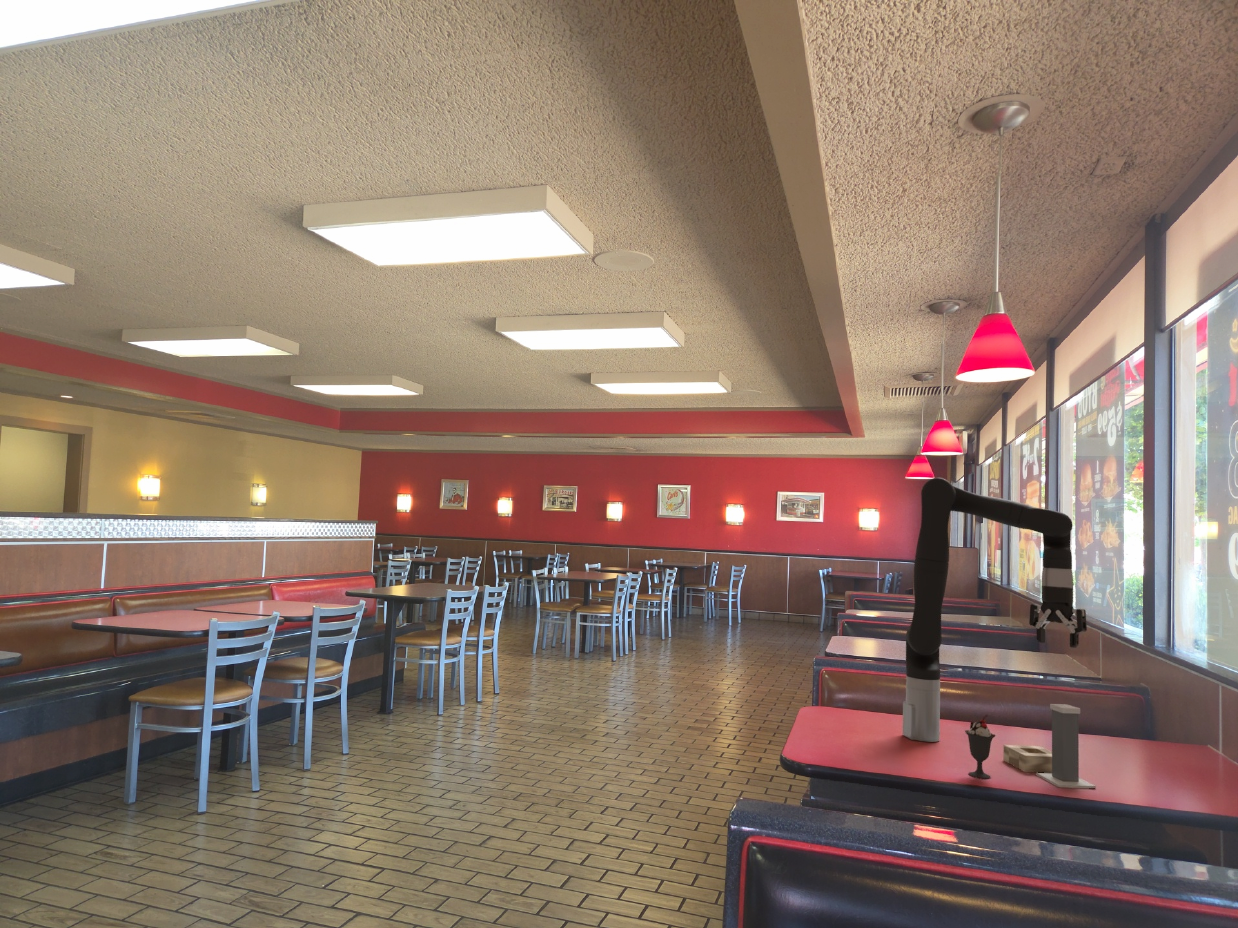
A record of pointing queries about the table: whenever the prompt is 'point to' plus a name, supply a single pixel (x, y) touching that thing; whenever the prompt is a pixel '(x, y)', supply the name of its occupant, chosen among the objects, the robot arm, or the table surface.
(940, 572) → the robot arm
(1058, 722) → the plug
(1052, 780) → the mat
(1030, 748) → the square wooden socket block
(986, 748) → the sundae
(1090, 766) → the table surface
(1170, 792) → the table surface
